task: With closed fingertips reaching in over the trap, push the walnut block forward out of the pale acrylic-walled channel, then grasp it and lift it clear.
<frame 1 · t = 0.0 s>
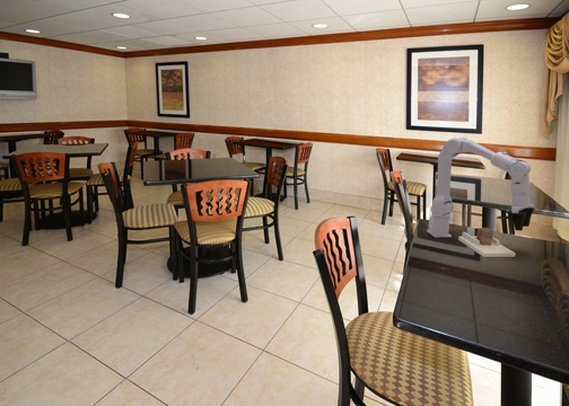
hand: (522, 228, 135), 10 cm above the table, tool pointing down, fingers open, 7 cm apart
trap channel: (483, 246, 145), on the table
walnut block: (483, 243, 145), point 1 cm above the table, touching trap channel
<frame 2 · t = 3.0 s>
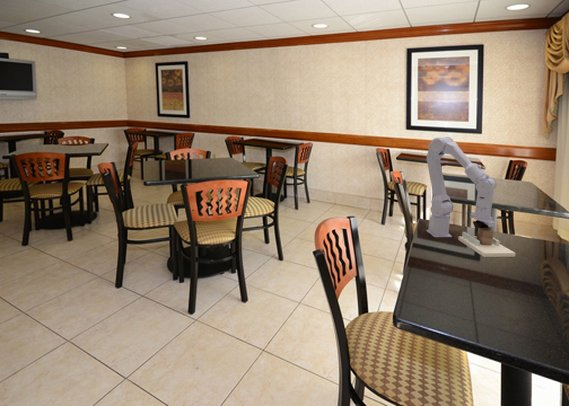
hand: (479, 238, 148), 2 cm above the table, tool pointing down, fingers closed
walnut block: (483, 243, 145), point 2 cm above the table, touching gripper, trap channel
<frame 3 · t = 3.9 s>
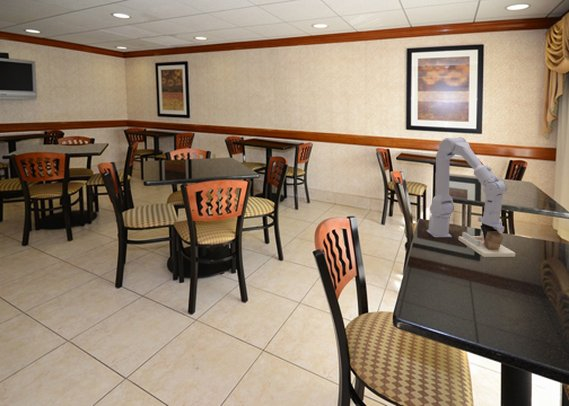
hand: (488, 243, 142), 2 cm above the table, tool pointing down, fingers closed
walnut block: (490, 246, 139), point 2 cm above the table, tilted 16°, touching gripper, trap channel
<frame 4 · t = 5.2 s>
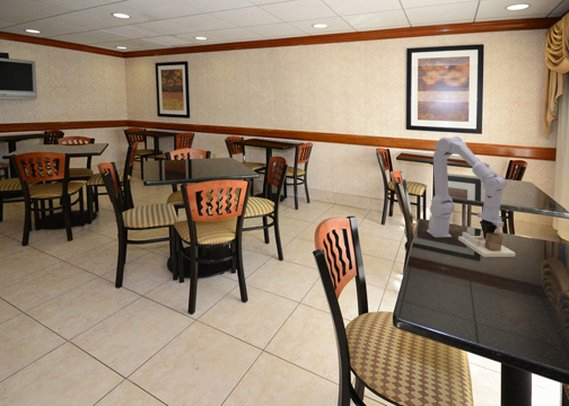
hand: (487, 238, 142), 4 cm above the table, tool pointing down, fingers closed
walnut block: (492, 249, 138), point 1 cm above the table, touching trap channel
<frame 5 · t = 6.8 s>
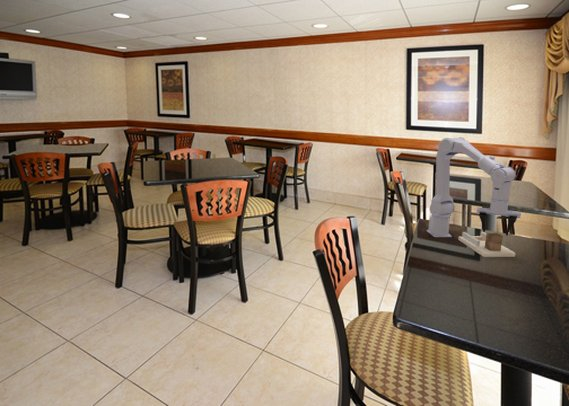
hand: (495, 233, 137), 8 cm above the table, tool pointing down, fingers open, 7 cm apart
nothing on the table moved.
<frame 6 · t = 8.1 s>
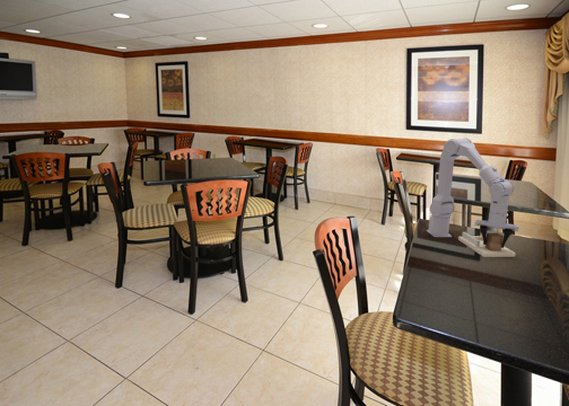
hand: (493, 245, 138), 3 cm above the table, tool pointing down, fingers closed on walnut block, 5 cm apart
walnut block: (492, 249, 138), point 2 cm above the table, touching gripper
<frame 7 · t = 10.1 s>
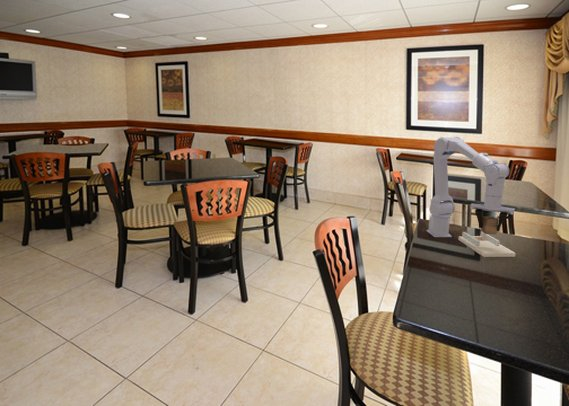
hand: (489, 229, 138), 9 cm above the table, tool pointing down, fingers closed on walnut block, 5 cm apart
walnut block: (488, 232, 138), point 8 cm above the table, touching gripper
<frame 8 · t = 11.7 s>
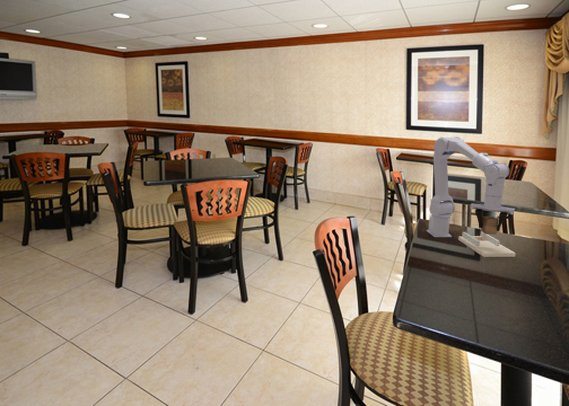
hand: (489, 229, 138), 9 cm above the table, tool pointing down, fingers closed on walnut block, 5 cm apart
walnut block: (488, 232, 138), point 8 cm above the table, touching gripper
at the end: the gripper is holding walnut block; walnut block point 8.0 cm above the table; walnut block inside the target area (1.1 cm from its centre), point 8.0 cm above the table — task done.
